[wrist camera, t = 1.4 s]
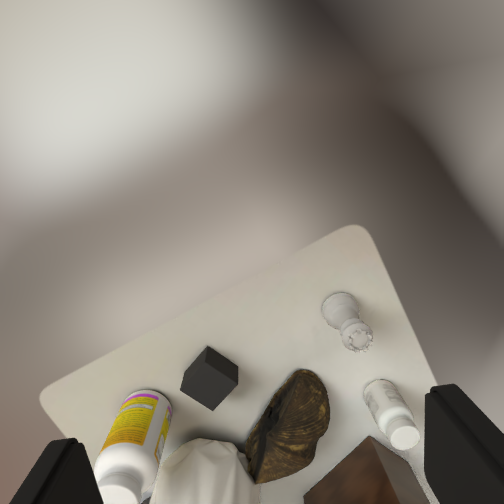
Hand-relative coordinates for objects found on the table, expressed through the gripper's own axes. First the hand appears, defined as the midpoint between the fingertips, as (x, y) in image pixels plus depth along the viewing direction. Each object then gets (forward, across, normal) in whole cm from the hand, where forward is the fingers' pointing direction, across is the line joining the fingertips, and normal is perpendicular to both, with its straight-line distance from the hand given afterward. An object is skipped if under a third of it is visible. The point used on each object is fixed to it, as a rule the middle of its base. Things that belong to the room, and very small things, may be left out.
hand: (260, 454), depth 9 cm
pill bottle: (+31, -15, +25) cm, 43 cm away
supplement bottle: (+31, +16, +23) cm, 42 cm away
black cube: (+31, +7, +18) cm, 37 cm away
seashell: (+31, -2, +28) cm, 42 cm away
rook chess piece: (+31, -10, +12) cm, 35 cm away
